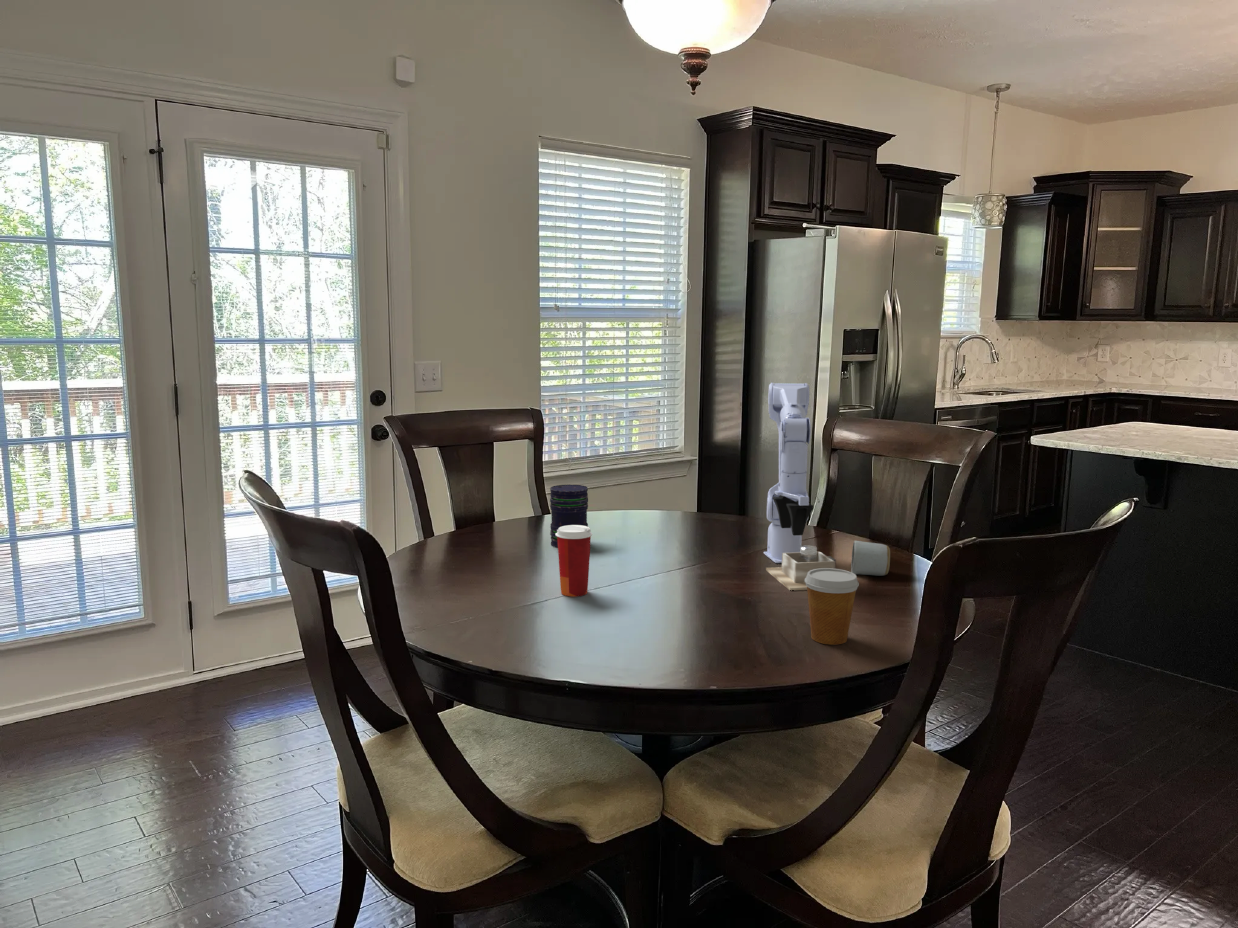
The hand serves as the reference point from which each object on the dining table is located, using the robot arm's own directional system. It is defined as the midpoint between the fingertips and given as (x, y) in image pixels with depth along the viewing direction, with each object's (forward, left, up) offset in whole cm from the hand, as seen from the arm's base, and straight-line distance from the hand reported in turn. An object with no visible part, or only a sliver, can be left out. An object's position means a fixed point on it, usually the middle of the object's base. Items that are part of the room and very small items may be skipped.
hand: (791, 531), depth 194 cm
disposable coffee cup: (+40, -7, -11) cm, 42 cm away
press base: (+3, +3, -10) cm, 11 cm away
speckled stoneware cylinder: (0, +19, -11) cm, 22 cm away
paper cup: (+6, -50, -11) cm, 51 cm away
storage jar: (-36, -47, -11) cm, 60 cm away
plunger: (+3, +3, -11) cm, 11 cm away
